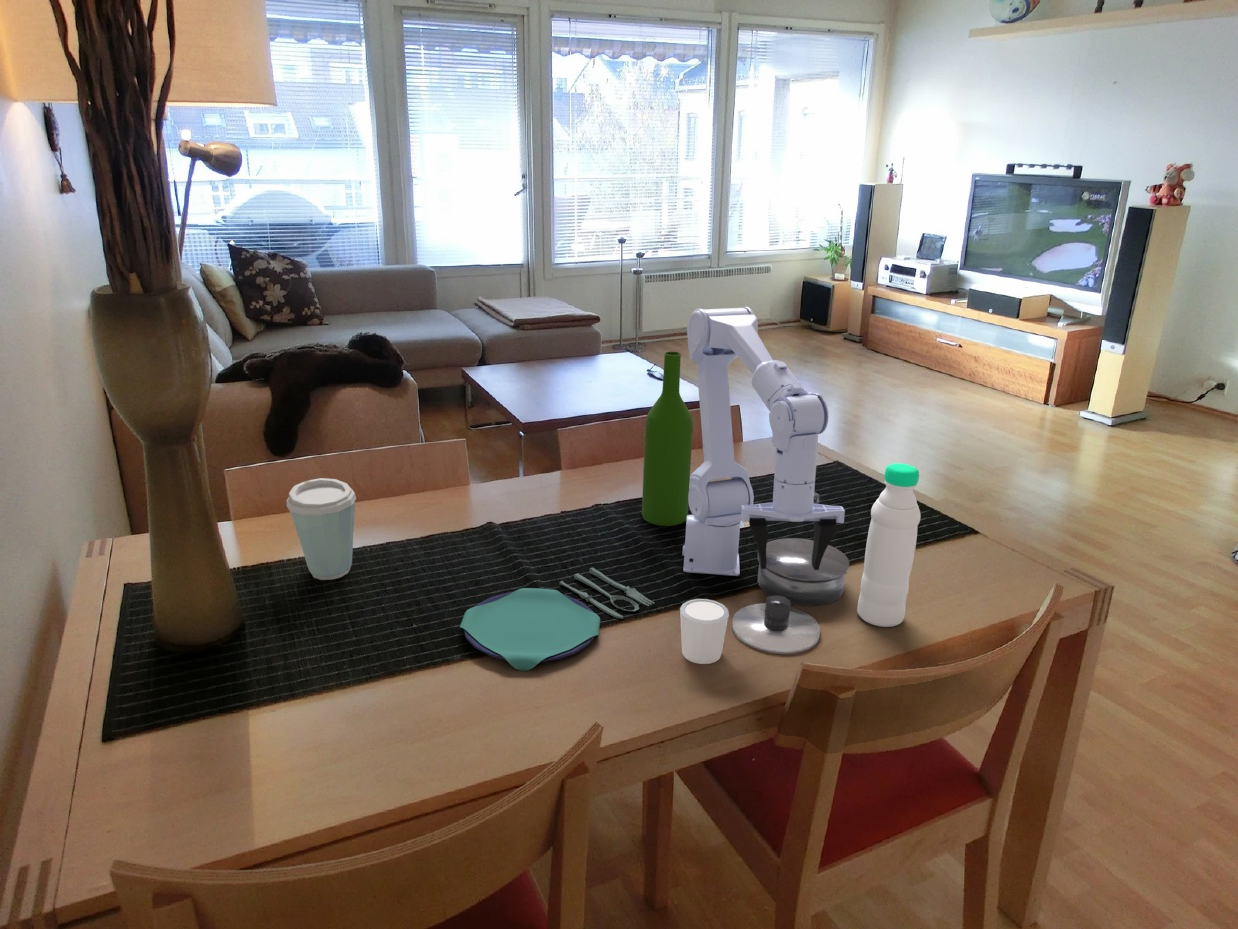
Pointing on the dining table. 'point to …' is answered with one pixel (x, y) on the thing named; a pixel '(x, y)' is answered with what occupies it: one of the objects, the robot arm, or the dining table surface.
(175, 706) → the dining table surface
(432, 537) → the dining table surface
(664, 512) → the wine bottle
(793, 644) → the steel lid
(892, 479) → the water bottle
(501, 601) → the cutlery set
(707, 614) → the white cup
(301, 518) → the disposable coffee cup
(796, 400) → the robot arm
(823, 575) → the cooking pot
